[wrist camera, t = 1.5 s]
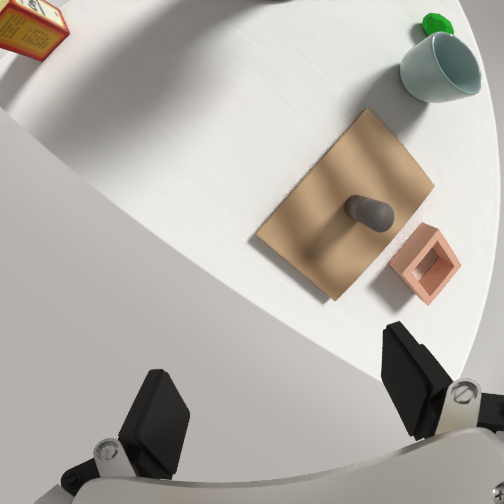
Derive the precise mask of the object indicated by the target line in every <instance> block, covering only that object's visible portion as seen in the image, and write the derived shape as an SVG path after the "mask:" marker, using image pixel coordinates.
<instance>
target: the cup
mask: <svg viewBox="0 0 504 504" xmlns="http://www.w3.org/2000/svg"><path fill="white" fill-rule="evenodd" d="M400 76H401V80H402V83H403V85H404V87H405V88H406V90H407V91H408V92H409V93H410V94H411V95H412V96H414V97H415V98H417V99H419V100H421V101H424V102H428V103H443V102H449V101H454V100H458V99H462V98H467V97H470V96H473V95H475V94H477V93H478V92H479V91H480V88H481V83H482V79H481V72H480V68H479V65H478V63H477V60H476V58H475V57H474V55H473V53H472V52H471V50H470V49H469V48H468V47H467V46H466V45H465V44H464V43H463V42H462V41H461V40H460V39H458V38H457V37H455V36H453V35H451V34H449V33H446V32H436V33H433V34H431V35H430V36H428V37H427V38H425V39H424V40H422V41H421V42H419V43H418V44H416V45H415V46H414V47H413V48H412V49H411V50H409V51H408V52H407V53H406V55H405V56H404V57H403V59H402V61H401V65H400Z"/></svg>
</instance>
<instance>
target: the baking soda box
mask: <svg viewBox="0 0 504 504" xmlns="http://www.w3.org/2000/svg"><path fill="white" fill-rule="evenodd" d="M68 35H70V32H69V30H68V28H67V25H66V23H65V21H64V18H63V16H62V14H61V11H60V10H59V9H58V8H56V7H54V6H53V5H51V4H50V3H48V2H46V1H45V0H0V48H2V49H5V50H9V51H12V52H15V53H18V54H21V55H24V56H27V57H30V58H33V59H36V60H39V61H41V62H43V61H44V60H45V59H46V58H47V56H48V55H49V54H50V53H51V52H52V51H53V50H54V49H55V48H56V47H57V46H58V45H59V44H60V43H61V42H62V41H63V40H64V39H65V38H66V37H67V36H68Z"/></svg>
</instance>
